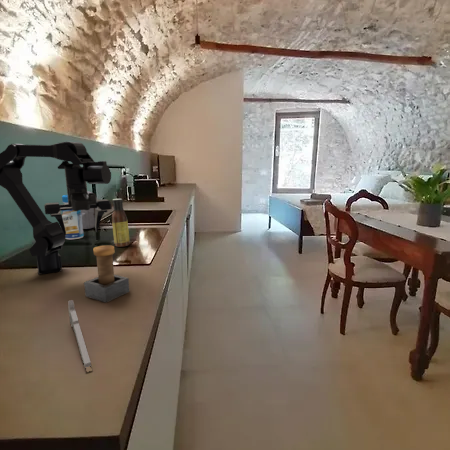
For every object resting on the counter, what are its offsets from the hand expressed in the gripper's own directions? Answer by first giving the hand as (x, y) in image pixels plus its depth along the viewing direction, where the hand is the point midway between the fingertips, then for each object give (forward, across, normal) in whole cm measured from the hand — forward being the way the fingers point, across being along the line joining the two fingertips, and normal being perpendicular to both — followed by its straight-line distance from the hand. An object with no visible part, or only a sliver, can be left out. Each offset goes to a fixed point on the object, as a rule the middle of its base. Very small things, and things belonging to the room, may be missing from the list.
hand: (81, 233), depth 103 cm
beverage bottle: (+13, +2, +54) cm, 56 cm away
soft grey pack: (+13, +12, +73) cm, 75 cm away
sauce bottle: (+13, +18, +28) cm, 36 cm away
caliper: (+14, -7, -45) cm, 47 cm away
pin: (+13, +3, -22) cm, 26 cm away
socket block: (+13, +3, -22) cm, 26 cm away
